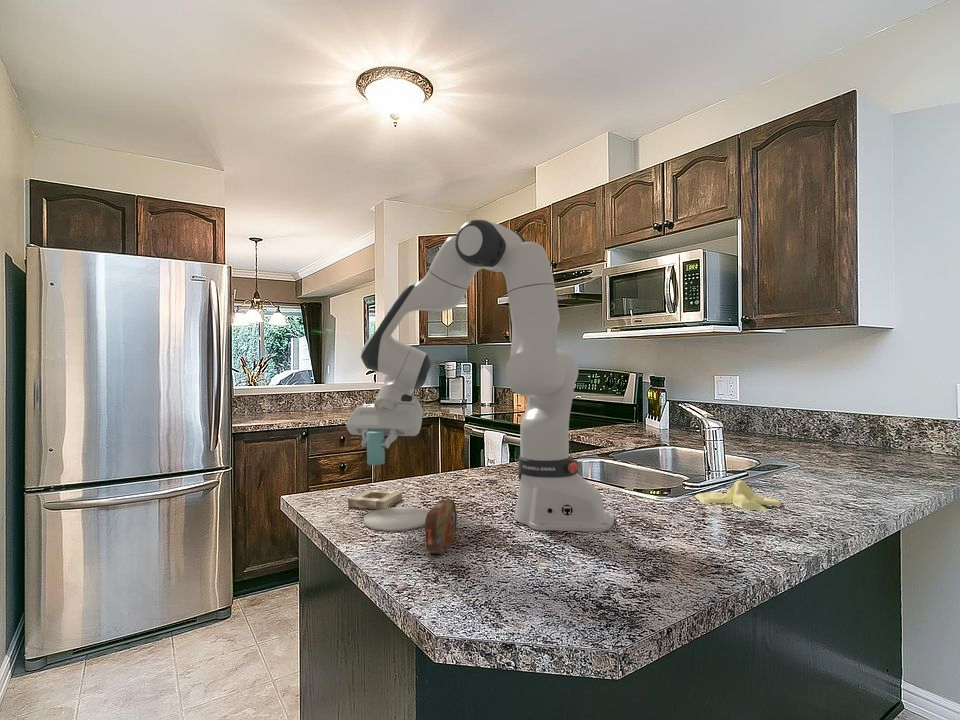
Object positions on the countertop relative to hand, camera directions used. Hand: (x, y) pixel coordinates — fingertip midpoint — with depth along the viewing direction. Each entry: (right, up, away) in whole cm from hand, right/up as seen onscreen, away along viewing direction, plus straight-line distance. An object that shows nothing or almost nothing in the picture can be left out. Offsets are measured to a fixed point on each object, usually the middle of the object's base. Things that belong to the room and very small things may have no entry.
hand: (374, 446), depth 141 cm
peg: (0, -4, +1) cm, 4 cm away
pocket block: (0, -15, +1) cm, 15 cm away
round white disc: (+8, -15, -14) cm, 22 cm away
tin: (+19, -15, -31) cm, 40 cm away
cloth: (+92, -15, -2) cm, 94 cm away
